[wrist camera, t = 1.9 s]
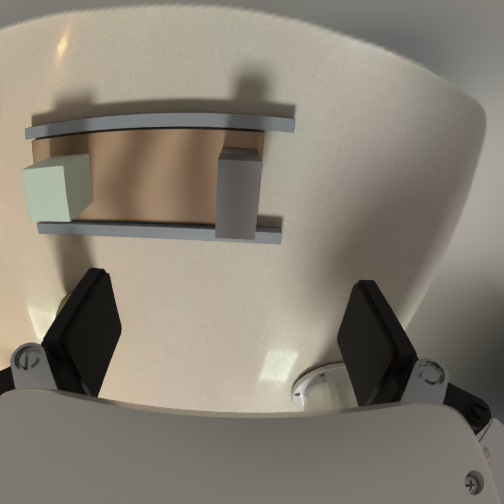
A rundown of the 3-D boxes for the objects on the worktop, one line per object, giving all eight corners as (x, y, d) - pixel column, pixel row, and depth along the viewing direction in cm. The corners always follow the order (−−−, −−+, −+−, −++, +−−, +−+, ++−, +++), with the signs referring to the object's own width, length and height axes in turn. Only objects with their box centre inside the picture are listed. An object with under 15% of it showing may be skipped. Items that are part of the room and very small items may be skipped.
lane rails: (293, 118, 25) (295, 119, 24) (279, 239, 30) (280, 244, 29) (31, 126, 23) (25, 128, 22) (43, 229, 29) (38, 233, 28)
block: (89, 153, 25) (63, 165, 20) (93, 202, 27) (70, 221, 23) (50, 157, 24) (21, 169, 20) (55, 202, 27) (30, 221, 22)
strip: (263, 131, 25) (270, 141, 19) (255, 224, 29) (259, 257, 24) (34, 139, 24) (-5, 154, 18) (44, 217, 28) (12, 244, 22)
